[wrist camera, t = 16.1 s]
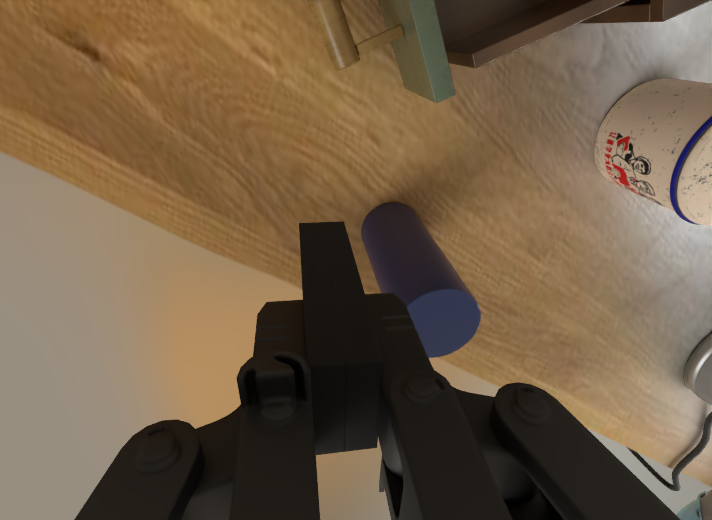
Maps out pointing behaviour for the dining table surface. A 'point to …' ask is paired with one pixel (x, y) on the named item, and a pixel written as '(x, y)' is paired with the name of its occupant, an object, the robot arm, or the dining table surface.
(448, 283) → the navy cylinder
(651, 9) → the cabinet
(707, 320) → the dining table surface
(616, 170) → the teacup with lid
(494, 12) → the drawer
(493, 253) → the dining table surface
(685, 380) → the robot arm
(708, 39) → the dining table surface
